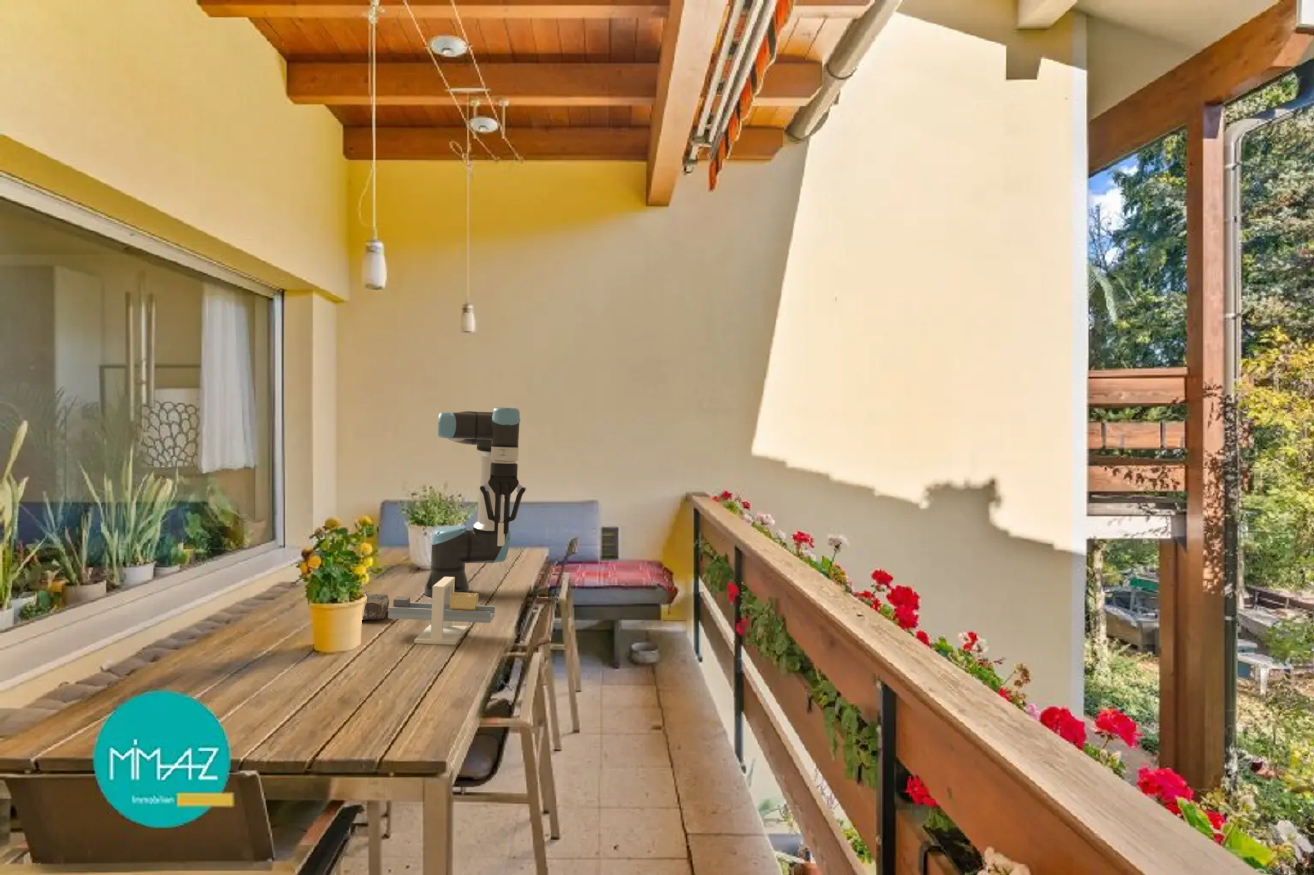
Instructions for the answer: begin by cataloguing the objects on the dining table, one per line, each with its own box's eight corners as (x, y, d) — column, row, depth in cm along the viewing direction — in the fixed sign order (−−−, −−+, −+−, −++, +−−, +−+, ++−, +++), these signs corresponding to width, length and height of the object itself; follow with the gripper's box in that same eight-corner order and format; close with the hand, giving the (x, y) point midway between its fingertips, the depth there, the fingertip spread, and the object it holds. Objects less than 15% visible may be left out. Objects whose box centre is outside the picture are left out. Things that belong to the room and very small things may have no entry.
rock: (355, 610, 217) (338, 625, 202) (354, 589, 217) (338, 603, 202) (396, 609, 218) (382, 624, 203) (396, 589, 218) (382, 602, 203)
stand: (429, 628, 201) (431, 575, 200) (467, 629, 201) (469, 576, 201) (414, 643, 187) (416, 586, 186) (455, 644, 187) (457, 588, 187)
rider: (452, 611, 196) (453, 592, 196) (477, 612, 196) (478, 593, 196) (449, 614, 192) (450, 595, 192) (474, 615, 192) (475, 596, 192)
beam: (397, 611, 198) (398, 583, 197) (495, 615, 199) (496, 588, 198) (386, 619, 189) (388, 590, 189) (489, 623, 190) (490, 595, 190)
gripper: (478, 461, 190) (474, 546, 190) (525, 463, 190) (521, 548, 191) (483, 460, 197) (480, 542, 198) (529, 462, 198) (526, 543, 198)
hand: (500, 545), depth 194 cm, fingers closed
